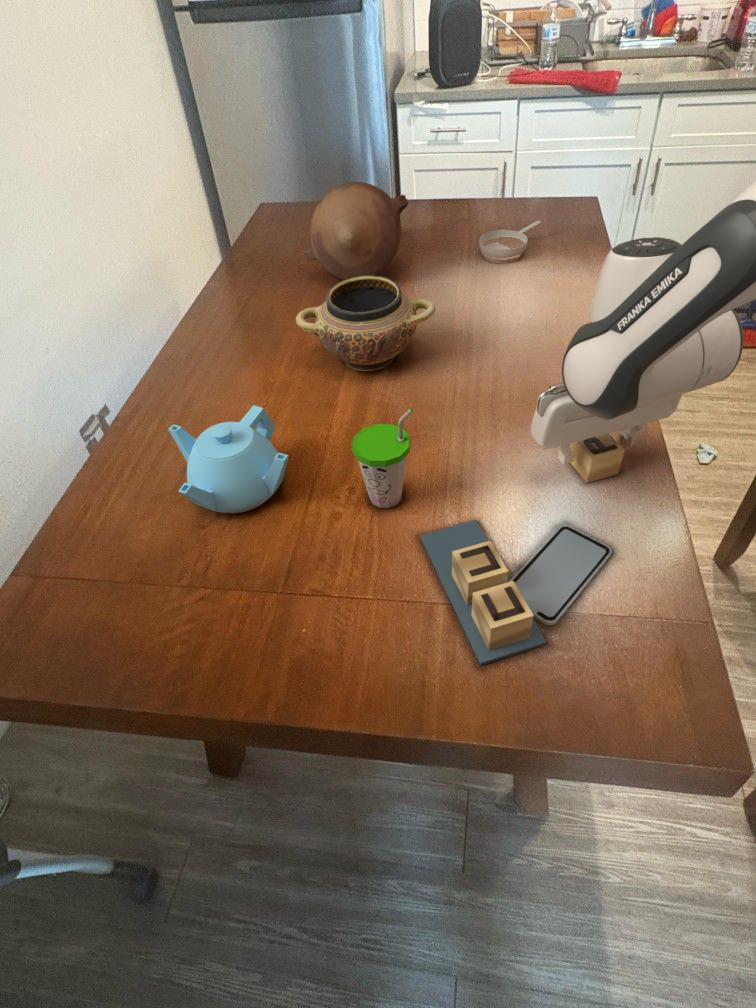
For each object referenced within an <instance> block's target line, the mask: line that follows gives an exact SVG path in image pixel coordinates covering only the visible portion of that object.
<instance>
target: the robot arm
mask: <svg viewBox="0 0 756 1008" xmlns="http://www.w3.org/2000/svg"><path fill="white" fill-rule="evenodd" d="M755 301H756V180H755V181H753V182H752V183H751V184H750V185H749V186H747V187H746V188H745V189H744V190H743V191H742V192H741V193H740V194H738V195H737V196H735V198H734V199H732V200H731V201H730V202H729V203H728V204H727V205H726V206H725V207H724V208H723V209H722V210H720V211H718V213H716V214H715V215H714V216H713V217H712V218H711V219H709V221H707V222H706V223H705V224H704V225H703V226H702V227H701V228H699V229H698V230H697V231H695V232H694V233H693V234H692V235H691V236H690V237H689V238H688V239H686V241H685V242H683V243H682V244H681V243H680V242H678V241H676V240H675V239H672V238H667V237H659V236H657V237H656V236H654V237H641V238H636V239H631V240H628V241H625V242H621V243H619V244H617V245H615V246H613V247H612V248H611V249H610V250H609V252H608V253H607V255H606V257H605V258H604V261H603V263H602V265H601V268H600V271H599V274H598V277H597V280H596V284H595V288H594V291H593V295H592V300H591V305H590V310H589V320H590V321H589V322H588V323H585V324H583V325H581V326H580V327H578V329H577V330H576V332H575V333H574V334H573V336H572V337H571V339H570V341H569V343H568V345H567V347H566V350H565V353H564V355H563V358H562V363H561V377H562V378H561V379H562V382H557V383H553V384H551V385H550V386H549V387H548V388H547V389H546V390H544V391H543V392H542V393H540V394H539V396H538V398H537V402H536V407H535V409H534V413H533V418H532V421H531V425H530V430H529V431H530V436H531V437H532V439H533V440H534V442H536V444H537V445H538V446H539V447H540V448H542V449H543V450H551V449H554V448H555V449H556V448H557V449H558V452H557V460H558V461H559V462H560V464H561V465H566V464H571V462H573V458H574V456H575V454H574V452H573V451H571V449H572V448H571V445H572V444H573V443H574V442H578V441H582V440H585V439H589V438H593V437H597V436H600V435H604V434H608V433H609V434H612V433H615V432H618V431H619V433H618V437H617V439H616V442H617V443H618V444H619V445H620V446H621V447H622V448H623V449H625V448H630V447H633V446H634V444H635V441H636V438H638V436H639V435H641V433H642V432H643V431H644V430H645V429H646V428H647V426H648V424H649V423H654V422H657V421H661V420H664V419H668V418H670V417H671V416H672V415H673V414H674V413H675V412H676V411H677V409H678V407H679V405H680V401H681V399H682V396H683V395H684V394H687V393H692V392H694V391H697V390H700V389H704V388H706V387H709V386H713V385H714V384H717V383H721V382H722V381H725V380H726V379H727V378H729V377H730V376H731V375H732V373H733V372H734V371H735V369H736V368H737V366H738V364H739V362H740V360H741V357H742V354H743V351H744V350H743V349H744V344H745V343H744V342H745V341H744V339H745V335H744V327H743V323H742V321H741V319H740V317H739V315H738V313H737V312H736V311H735V310H734V309H737V308H739V307H741V306H744V305H745V304H749V303H751V302H755Z"/></svg>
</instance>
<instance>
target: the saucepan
mask: <svg viewBox="0 0 756 1008" xmlns="http://www.w3.org/2000/svg"><path fill="white" fill-rule="evenodd" d="M541 224H542V221H541V220H535V222H532V223H530V224H529V225H527V226H526V227H524V228H522V229H520V230H518V231H517V230H513V229H511V230H510V229H497V230H492V231H488V232H486V233H483V234H481V236H480V237H479V239H478V246H479V250H480V252H482V253H483V254H485V255H487V256H490V257H496V258H507V257H512V256H516V255H519V254H521V253H522V252H523V251H524V252H525V251H526V249H527V246H528V240H529V239H528V236H527V235H526V234H525V233H527V232H529V231H530V230H532V229H534V228H536V227H537V226H539V225H541ZM499 237H512V238H517V239H520V240H521V241H523V242H524V243H525V244H524V245H522V246H520V247H517V248H513V249H510V248H508V247H507V246H506V245H505V246H506V247H505V246H504V245H503V244H502V245H503V246H502V245H501V244H500V243H498V242H496V243H491V244H488V245H486V246H484V245H482V244H483V243H484V242H485V241H488V240H490V239H493V238H499ZM499 244H500V245H499ZM524 252H523V253H524ZM482 253H481V254H482ZM483 254H482V256H483V258H484V259H485V261H489V262H491V263H496V264H508V263H513V262H516V261H518V260H519V259H520V258H521V257H522V255H520V256H519V257H516V258H513V259H507V260H497V259H491V258H488V257H486V256H484V255H483Z"/></svg>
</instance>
